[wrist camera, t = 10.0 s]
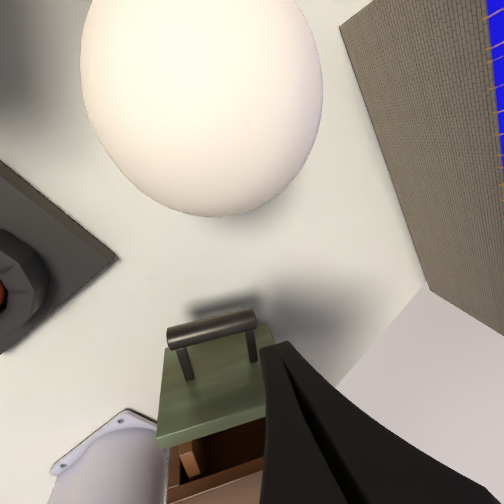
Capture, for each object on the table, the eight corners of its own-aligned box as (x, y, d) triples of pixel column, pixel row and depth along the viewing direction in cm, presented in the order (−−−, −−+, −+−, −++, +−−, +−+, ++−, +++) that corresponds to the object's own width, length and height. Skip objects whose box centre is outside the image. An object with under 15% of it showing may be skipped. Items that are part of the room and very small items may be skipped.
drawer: (148, 303, 18) (129, 386, 12) (261, 278, 19) (295, 340, 13) (190, 421, 24) (192, 516, 18) (274, 395, 25) (302, 475, 19)
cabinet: (172, 382, 22) (165, 506, 15) (274, 353, 24) (314, 452, 16) (197, 448, 27) (201, 569, 19) (281, 420, 29) (315, 522, 21)
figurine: (129, 54, 13) (-142, -359, 2) (269, 53, 14) (507, -207, 4) (159, 192, 16) (103, 293, 5) (273, 179, 17) (411, 239, 7)
